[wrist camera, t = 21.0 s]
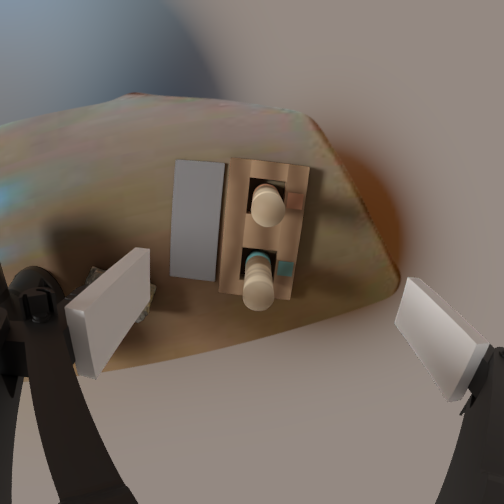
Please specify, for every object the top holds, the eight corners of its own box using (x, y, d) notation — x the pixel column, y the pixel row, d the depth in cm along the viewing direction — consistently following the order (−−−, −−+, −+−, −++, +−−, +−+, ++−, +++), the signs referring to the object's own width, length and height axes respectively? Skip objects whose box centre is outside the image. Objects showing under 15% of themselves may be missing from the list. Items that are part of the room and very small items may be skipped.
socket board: (220, 286, 55) (218, 292, 52) (232, 157, 48) (230, 157, 46) (288, 293, 55) (289, 300, 52) (307, 166, 49) (310, 167, 46)
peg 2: (246, 248, 53) (243, 281, 39) (271, 250, 53) (276, 283, 39) (245, 271, 54) (241, 310, 41) (269, 273, 54) (272, 312, 41)
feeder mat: (170, 275, 55) (169, 275, 54) (176, 159, 49) (175, 159, 48) (214, 280, 55) (214, 281, 54) (225, 163, 49) (224, 163, 48)
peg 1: (254, 181, 50) (252, 190, 36) (280, 184, 50) (287, 195, 36) (251, 206, 51) (248, 225, 37) (276, 209, 51) (283, 229, 37)
